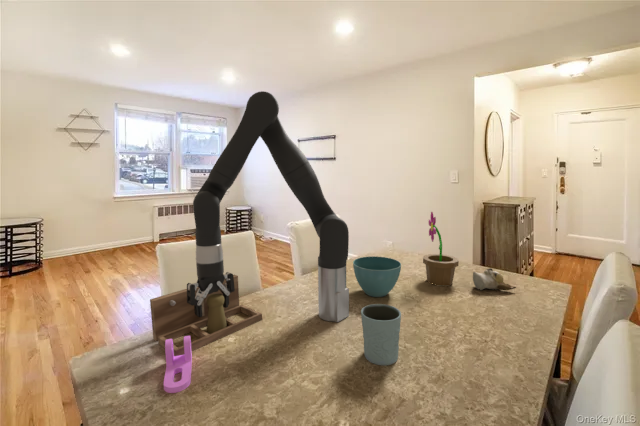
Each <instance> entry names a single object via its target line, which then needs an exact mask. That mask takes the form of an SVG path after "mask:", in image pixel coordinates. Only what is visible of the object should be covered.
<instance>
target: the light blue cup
mask: <svg viewBox="0 0 640 426" xmlns="http://www.w3.org/2000/svg"><path fill="white" fill-rule="evenodd" d="M360 315H361V316H360V317H361V318H360V319H361V327H362V338H363V353H364V358H365V359H366V360H367V361H368V362H370V363H371V364H374V365H378V366H390V365H393V364H395V363H396V362H397V361H398V359H399V351H400V350H399V349H400V346H399V343H400V332H401V319H402V312H401V310H400V309H398V308H397V307H395V306H393V305H389V304H384V303H383V304H382V303H375V304H374V303H373V304H368V305H366V306H364V307H362V308H361V310H360Z"/></svg>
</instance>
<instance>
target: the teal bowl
mask: <svg viewBox="0 0 640 426" xmlns="http://www.w3.org/2000/svg"><path fill="white" fill-rule="evenodd" d="M352 264H353V265H352V268H353V273H354V276H355V279H356V281H357V283H358V285H359V287H360V288H361V289H362V291H363V292H364V293H365V294H366V295H368V296H369V297H372V298H382V297H386V296H387V295H388V294H389V293H391V292H392V290H393V289H394V287H395V286H396V284H397V282H398V280H399V278H400V277H399V276H400V275H401V271H402V269H401V268H402V263H401V262H400V261H399V260H397V259H395V258H391V257H386V256H378V255H377V256H375V255H374V256H362V257H358V258H356V259H354V260H353V262H352Z"/></svg>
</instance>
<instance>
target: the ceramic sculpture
mask: <svg viewBox="0 0 640 426" xmlns="http://www.w3.org/2000/svg"><path fill="white" fill-rule="evenodd" d="M472 282H473V284H474V287H475V288H476V289H477V290H479V289H480V291H483V290H484V289H488V290H494V289H495V290H499V291H500V290H501V291H511V290H514V289H516V288H517V286H512V285H511V284H509V283H506V282H504V277H503V275H502V273H500V272H498V271H496V270H493V268H486V269H485V270H484V271H483V272H478V271H477V272H476V271H473V272H472Z"/></svg>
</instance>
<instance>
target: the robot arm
mask: <svg viewBox="0 0 640 426" xmlns="http://www.w3.org/2000/svg"><path fill="white" fill-rule="evenodd" d="M279 109H280V106H279V103H278V100H277V98H276V97H275V96H274V95H273V94H272V93H270V92H268V91H262V90H261V91H258V92H254V93H253V94H252V95H251V96H249V98H248V100H247V102H246V107H245V110H244V113H243V116H242V118H241V121H240V122H239V124H238V126H237V128H236V130H235V132H234V134H233V135H232V137H231V138H230V140H229V141H228V143H227V145H226V146H225V147H224V149H223V151H222V152H221V154H220V155H219V157H217V160H216V162H215V163H214V166H212V169H211V170H210V172H209V174H208V177H207V178H206V179H205V182H203V184H202V185H201V187H200V189H199V190H198V192H197V193H196V195H195V197H194V199H193V201H192V206H193V216H194V217H193V218H194V224H195V263H196V277H197V281H196V282H193V283H191V282H188V283H187V284H186V289H187V303H188V304H190V305H192V306H193V305H194V311H195V315H197V316H198V317H202V305H201V303H202V301H203V299H204V298H206V296H207V294H211V293H213V292H218V290H220V291H221V292H222V293H223V296H224V304H223V307H225V308H227V307H228V305H229V295H230V293H231V292H234V291H235V287H234V278H233V275H234V274H233V273H232V272H229V271H227V272H224V270H225V269H224V267H225V266H224V265H225V264H224V249H223V246H222V231H221V225H220V224H221V223H220V221H221V219H220V218H221V212H220V211H221V206H220V205H221V202H222V200H223V198H224V197H225V195H226V194H227V191H228V190H229V189H230V188H231V187H232V185H234V183H235V181H236V180H237V178H238V176H239V174H240V173H241V171H242V169H243V167H244V166H245V163H246V162H247V159H248V158H249V155H250V153H251V152H252V150H253V148H254V146H255V144H256V143H257V141H258V140H259V138H261V139H262V141H263V143H264V144H265V145H266V148H267V149H268V150H269V152H270V155H271V157H272V159H273V161H274V163H275V165H276V167H277V168H278V170H279V173H280V174H281V176H282V178H283V179H284V181H285V183H286V185H287V186H288V188H289V189H290V191H291V192H292V193H293V195H294V197H296V199H297V200H298V202H299V203H300V204H301V205H302V206H303V207H304V210H305V211H306V213H307V214H308V217H309V218H310V221H311V223H312V225H313V227H314V230H315V232H316V235H317V237H318V238H319V252H318V253H319V256H317V281H318V282H317V283H318V284H317V289H318V290H317V292H318V293H317V294H318V295H317V296H318V297H317V298H318V302H317V303H318V317H319V318H320V319H322V320H324V321H326V322H336V323H339V322H341V321H343V320H344V319H346V318H347V317H349V316H350V288H348V287H347V261H348V258H349V257H348V256H349V242H350V241H349V239H350V238H349V237H350V235H349V227H348V224H347V223H346V222H345V221H344V220H343V219H342V218H340V217H339V216H338V215H337V214H336V212H334V210H333V209H332V207H331V206H330V204H329V203H328V201H327V200H326V198H325V195H324V193H323V191H322V190H323V189H322V187H321V185H320V181H319V179H318V176H317V174H316V172H315V170H314V168H313V167H312V165H311V164H310V162H309V160H308V158H307V157H306V155H305V154H304V153H303V152H302V150H301V149H300V147H298V146H297V144H296V143H294V142H293V140H292V138H290V136H288V134H287V133H286V131H285V128H284V126H283V125H282V122H281V121H280V119H279V112H280V111H279ZM224 280H226V284H227V289H226V287H225V286H224V285H223V282H224ZM197 287H199V289H198V291H197V293H196V297H195V291H196V288H197ZM202 291H203V294H202Z"/></svg>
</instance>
